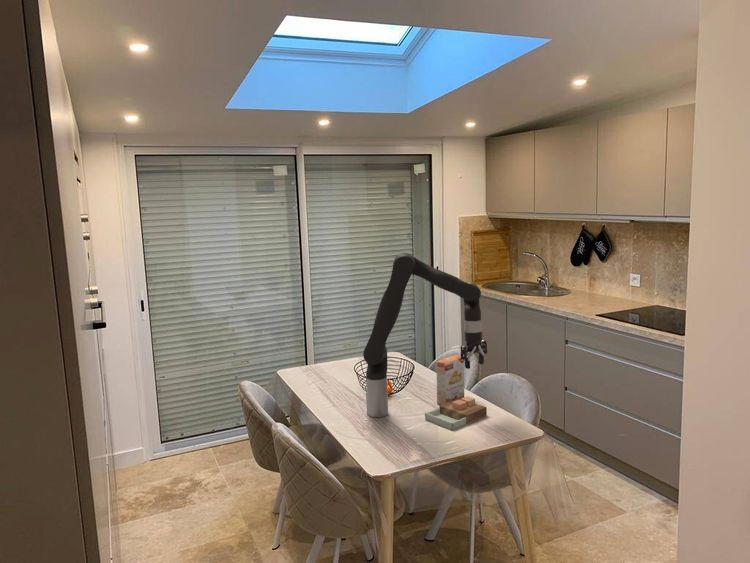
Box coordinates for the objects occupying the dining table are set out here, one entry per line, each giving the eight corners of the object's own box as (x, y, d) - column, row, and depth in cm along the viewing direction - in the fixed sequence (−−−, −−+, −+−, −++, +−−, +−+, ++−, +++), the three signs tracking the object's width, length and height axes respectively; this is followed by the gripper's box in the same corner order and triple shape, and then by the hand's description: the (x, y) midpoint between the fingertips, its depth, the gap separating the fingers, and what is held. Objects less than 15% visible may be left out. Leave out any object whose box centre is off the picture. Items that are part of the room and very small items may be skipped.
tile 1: (452, 407, 239) (452, 402, 239) (459, 404, 242) (459, 399, 241) (459, 410, 236) (459, 404, 235) (466, 407, 238) (466, 402, 238)
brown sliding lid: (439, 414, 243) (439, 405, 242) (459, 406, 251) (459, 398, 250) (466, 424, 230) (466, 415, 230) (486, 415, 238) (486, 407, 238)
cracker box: (446, 407, 250) (445, 363, 247) (436, 404, 255) (435, 360, 252) (465, 398, 260) (464, 356, 257) (455, 396, 264) (454, 354, 261)
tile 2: (460, 404, 242) (460, 398, 242) (467, 401, 245) (467, 396, 245) (468, 406, 239) (468, 401, 239) (475, 404, 242) (475, 398, 241)
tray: (425, 419, 237) (424, 413, 237) (439, 414, 242) (438, 407, 242) (452, 430, 225) (452, 423, 224) (466, 424, 230) (466, 417, 230)
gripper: (477, 325, 242) (479, 361, 245) (455, 331, 234) (456, 368, 236) (490, 328, 236) (492, 364, 239) (468, 334, 228) (469, 371, 230)
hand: (474, 366), depth 237 cm, fingers open, 8 cm apart
